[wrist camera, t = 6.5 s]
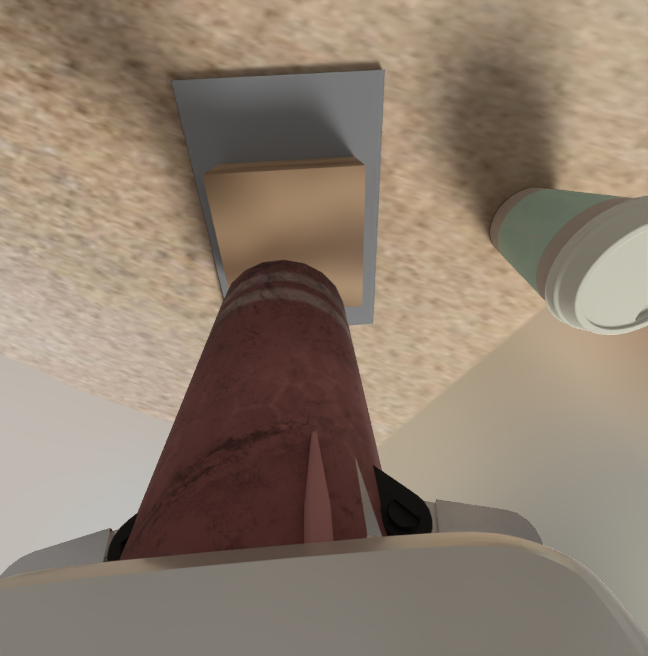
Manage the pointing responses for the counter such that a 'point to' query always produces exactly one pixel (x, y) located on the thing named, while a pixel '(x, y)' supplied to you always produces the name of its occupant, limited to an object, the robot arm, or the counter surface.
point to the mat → (288, 137)
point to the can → (266, 427)
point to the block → (292, 217)
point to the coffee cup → (580, 255)
